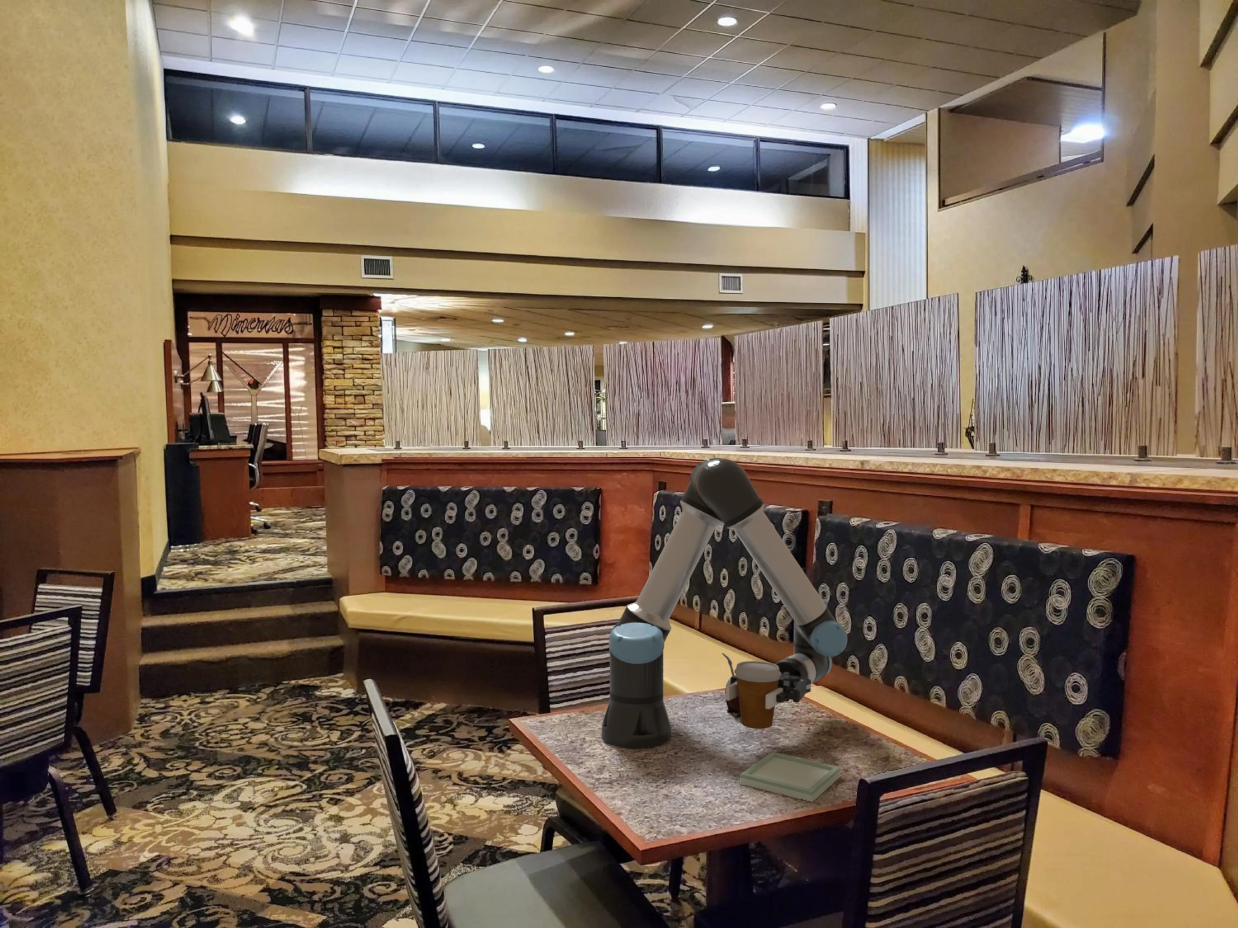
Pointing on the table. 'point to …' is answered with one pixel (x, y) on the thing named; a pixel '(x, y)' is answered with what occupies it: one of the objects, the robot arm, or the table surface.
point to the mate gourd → (733, 703)
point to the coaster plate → (790, 776)
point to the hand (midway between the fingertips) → (747, 697)
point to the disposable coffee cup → (756, 692)
